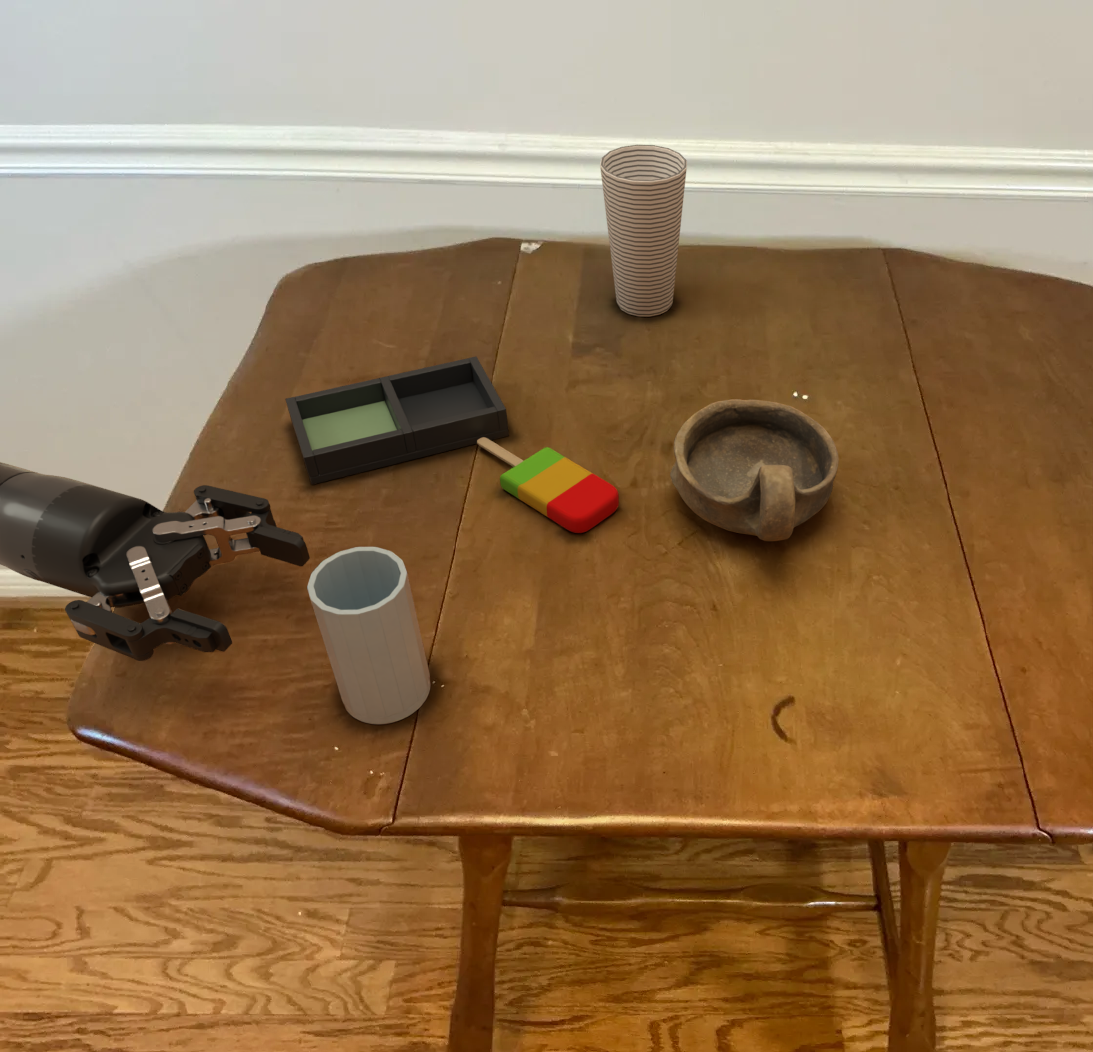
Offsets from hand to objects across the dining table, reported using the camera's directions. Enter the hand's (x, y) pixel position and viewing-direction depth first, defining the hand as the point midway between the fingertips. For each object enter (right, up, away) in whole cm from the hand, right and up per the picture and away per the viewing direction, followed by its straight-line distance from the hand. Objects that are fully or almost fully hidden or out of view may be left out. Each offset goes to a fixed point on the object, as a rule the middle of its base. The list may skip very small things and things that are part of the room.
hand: (267, 594), depth 72 cm
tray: (+2, +13, +24) cm, 28 cm away
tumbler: (+7, -7, +3) cm, 10 cm away
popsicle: (+16, +8, +20) cm, 26 cm away
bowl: (+34, +5, +17) cm, 38 cm away
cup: (+23, +28, +42) cm, 56 cm away
